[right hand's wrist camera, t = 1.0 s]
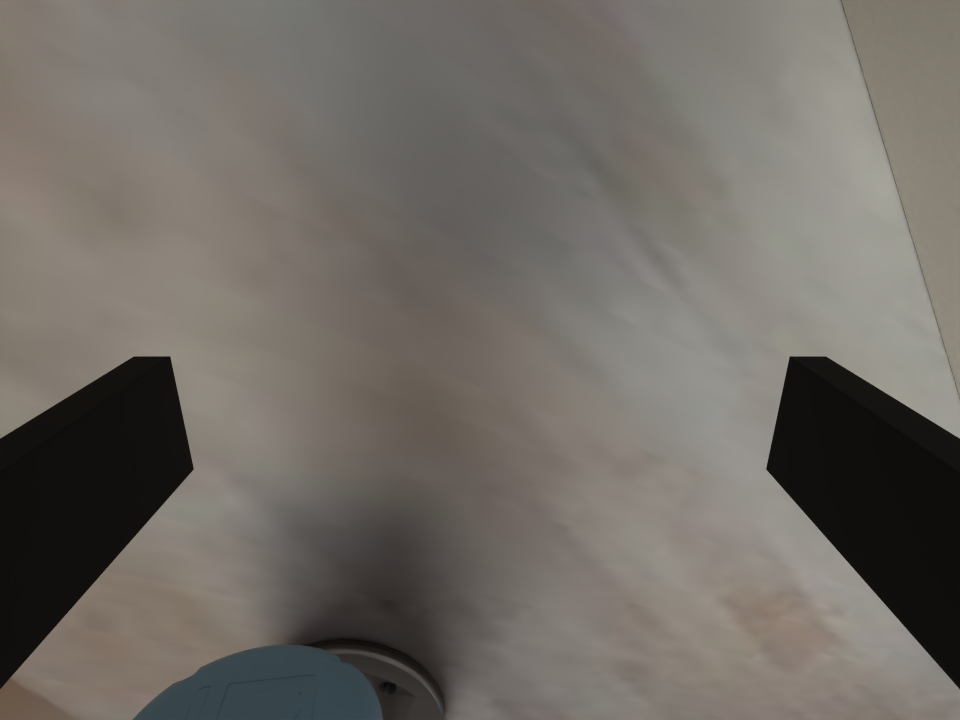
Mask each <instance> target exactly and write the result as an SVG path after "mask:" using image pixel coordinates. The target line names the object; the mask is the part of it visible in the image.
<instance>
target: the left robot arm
mask: <svg viewBox="0 0 960 720" xmlns="http://www.w3.org/2000/svg"><path fill="white" fill-rule="evenodd" d="M133 720H444V702H443V698H442V695H441V692H440V690H439V688H438V686H437V684H436V683H435V681H434V680H433V679H432V677H431V676H430V675H429V674H428V673H427V672H426V671H425V670H424V669H423V668H422V667H421V666H420V665H419V664H417V663H416V662H415V661H413V660H412V659H410V658H408V657H407V656H405V655H403V654H401V653H399V652H397V651H395V650H393V649H390V648H387V647H384V646H381V645H377V644H374V643H369V642H363V641H354V640H335V641H326V642H320V643H315V644H312V645H308V646H302V645H273V646H265V647H259V648H254V649H249V650H245V651H241V652H238V653H235V654H232V655H229V656H226V657H223V658H221V659H218V660H216V661H214V662H211V663H209V664H207V665H205V666H203V667H201V668H200V669H199V670H198V671H197V672H196V673H195V674H194V675H192V676H191V677H189V678H186V679H184V680H182V681H179V682H177V683H174V684H173V685H171V686H170V687H168V688H167V689H166V690H164V691H163V692H162V693H161V694H159V695H158V696H157V697H156V698H154V699H153V700H152V701H151V702H150V703H149V704H148V705H147V706H146V707H144V708H143V709H142V710H141V711H140V712H139V713H138V715H137V716H136V717H135V718H134V719H133Z"/></svg>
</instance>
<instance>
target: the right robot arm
mask: <svg viewBox="0 0 960 720" xmlns="http://www.w3.org/2000/svg"><path fill="white" fill-rule="evenodd" d="M193 469H194V468H193V463H192V459H191V454H190V449H189V444H188V439H187V435H186V430H185V425H184V420H183V416H182V411H181V406H180V401H179V396H178V392H177V387H176V382H175V377H174V373H173V368H172V363H171V358H170V357H133V358H131V359H129V360H128V361H126V362H124V363H123V364H121V365H120V366H118V367H116V368H115V369H113V370H111V371H110V372H108V373H107V374H105V375H103V376H102V377H100V378H98V379H97V380H95V381H93V382H92V383H90V384H89V385H87V386H85V387H84V388H82V389H80V390H79V391H77V392H76V393H74V394H72V395H71V396H69V397H67V398H66V399H64V400H63V401H61V402H59V403H58V404H56V405H54V406H53V407H51V408H50V409H48V410H46V411H45V412H43V413H41V414H40V415H38V416H37V417H35V418H33V419H32V420H30V421H28V422H27V423H25V424H24V425H22V426H20V427H19V428H17V429H15V430H14V431H12V432H11V433H9V434H7V435H6V436H4V437H2V438H1V439H0V689H1V688H2V686H3V685H4V684H5V683H6V682H7V681H8V680H9V678H10V677H11V676H12V675H13V674H14V673H15V672H16V671H17V669H18V668H19V667H20V666H21V665H22V664H23V663H24V661H25V660H26V659H27V658H28V657H29V656H30V655H31V653H32V652H33V651H34V650H35V649H36V648H37V647H38V646H39V644H40V643H41V642H42V641H43V640H44V639H45V638H46V636H47V635H48V634H49V633H50V632H51V631H52V630H53V628H54V627H55V626H56V625H57V624H58V623H59V622H60V621H61V619H62V618H63V617H64V616H65V615H66V614H67V613H68V611H69V610H70V609H71V608H72V607H73V606H74V605H75V603H76V602H77V601H78V600H79V599H80V598H81V597H82V596H83V594H84V593H85V592H86V591H87V590H88V589H89V588H90V586H91V585H92V584H93V583H94V582H95V581H96V580H97V579H98V577H99V576H100V575H101V574H102V573H103V572H104V571H105V569H106V568H107V567H108V566H109V565H110V564H111V563H112V561H113V560H114V559H115V558H116V557H117V556H118V555H119V554H120V552H121V551H122V550H123V549H124V548H125V547H126V546H127V544H128V543H129V542H130V541H131V540H132V539H133V538H134V536H135V535H136V534H137V533H138V532H139V531H140V530H141V529H142V527H143V526H144V525H145V524H146V523H147V522H148V521H149V519H150V518H151V517H152V516H153V515H154V514H155V513H156V511H157V510H158V509H159V508H160V507H161V506H162V505H163V504H164V502H165V501H166V500H167V499H168V498H169V497H170V496H171V494H172V493H173V492H174V491H175V490H176V489H177V488H178V486H179V485H180V484H181V483H182V482H183V481H184V480H185V479H186V477H187V476H188V475H189V474H190V473H191V472H192V471H193ZM766 469H767V471H768V472H769V473H770V474H771V475H772V476H773V477H774V479H775V480H776V481H777V482H778V483H779V484H780V485H781V486H782V488H783V489H784V490H785V491H786V492H787V493H788V494H789V496H790V497H791V498H792V499H793V500H794V501H795V502H796V504H797V505H798V506H799V507H800V508H801V509H802V510H803V511H804V513H805V514H806V515H807V516H808V517H809V518H810V519H811V521H812V522H813V523H814V524H815V525H816V526H817V527H818V529H819V530H820V531H821V532H822V533H823V534H824V535H825V536H826V538H827V539H828V540H829V541H830V542H831V543H832V544H833V546H834V547H835V548H836V549H837V550H838V551H839V552H840V554H841V555H842V556H843V557H844V558H845V559H846V560H847V561H848V563H849V564H850V565H851V566H852V567H853V568H854V569H855V571H856V572H857V573H858V574H859V575H860V576H861V577H862V579H863V580H864V581H865V582H866V583H867V584H868V585H869V586H870V588H871V589H872V590H873V591H874V592H875V593H876V594H877V596H878V597H879V598H880V599H881V600H882V601H883V602H884V603H885V605H886V606H887V607H888V608H889V609H890V610H891V611H892V613H893V614H894V615H895V616H896V617H897V618H898V619H899V621H900V622H901V623H902V624H903V625H904V626H905V627H906V628H907V630H908V631H909V632H910V633H911V634H912V635H913V636H914V638H915V639H916V640H917V641H918V642H919V643H920V644H921V646H922V647H923V648H924V649H925V650H926V651H927V652H928V653H929V655H930V656H931V657H932V658H933V659H934V660H935V661H936V663H937V664H938V665H939V666H940V667H941V668H942V669H943V671H944V672H945V673H946V674H947V675H948V676H949V677H950V678H951V680H952V681H953V682H954V683H955V684H956V685H957V686H958V688H959V689H960V439H959V438H958V437H956V436H954V435H953V434H951V433H949V432H948V431H946V430H945V429H943V428H941V427H940V426H938V425H936V424H935V423H933V422H932V421H930V420H928V419H927V418H925V417H923V416H922V415H920V414H919V413H917V412H915V411H914V410H912V409H910V408H909V407H907V406H906V405H904V404H902V403H901V402H899V401H897V400H896V399H894V398H893V397H891V396H889V395H888V394H886V393H884V392H883V391H881V390H880V389H878V388H876V387H875V386H873V385H871V384H870V383H868V382H867V381H865V380H863V379H862V378H860V377H858V376H857V375H855V374H853V373H852V372H850V371H849V370H847V369H845V368H844V367H842V366H840V365H839V364H837V363H836V362H834V361H832V360H831V359H829V358H827V357H790V358H789V363H788V368H787V373H786V377H785V382H784V387H783V392H782V396H781V401H780V406H779V411H778V416H777V420H776V425H775V430H774V435H773V439H772V444H771V449H770V454H769V459H768V463H767V468H766Z"/></svg>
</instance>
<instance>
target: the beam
mask: <svg viewBox="0 0 960 720" xmlns="http://www.w3.org/2000/svg"><path fill="white" fill-rule="evenodd" d="M842 4H843V7H844V10H845V14H846V17H847V21H848V24H849V27H850V31H851V34H852V37H853V41H854V44H855V47H856V51H857V54H858V57H859V61H860V64H861V67H862V71H863V74H864V77H865V81H866V84H867V88H868V91H869V94H870V98H871V101H872V104H873V108H874V111H875V114H876V118H877V121H878V124H879V128H880V131H881V134H882V138H883V141H884V144H885V148H886V151H887V155H888V158H889V161H890V165H891V168H892V171H893V175H894V178H895V181H896V185H897V188H898V191H899V195H900V198H901V201H902V205H903V208H904V211H905V215H906V218H907V221H908V225H909V228H910V232H911V235H912V238H913V242H914V245H915V248H916V252H917V255H918V258H919V262H920V265H921V268H922V272H923V275H924V278H925V282H926V285H927V288H928V292H929V295H930V299H931V302H932V305H933V309H934V312H935V315H936V319H937V322H938V325H939V329H940V332H941V335H942V339H943V342H944V345H945V349H946V352H947V355H948V359H949V362H950V366H951V369H952V372H953V376H954V379H955V382H956V386H957V389H958V392H959V396H960V0H842Z"/></svg>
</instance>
